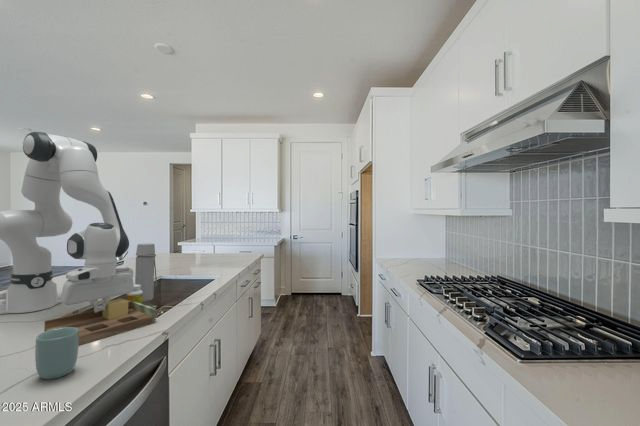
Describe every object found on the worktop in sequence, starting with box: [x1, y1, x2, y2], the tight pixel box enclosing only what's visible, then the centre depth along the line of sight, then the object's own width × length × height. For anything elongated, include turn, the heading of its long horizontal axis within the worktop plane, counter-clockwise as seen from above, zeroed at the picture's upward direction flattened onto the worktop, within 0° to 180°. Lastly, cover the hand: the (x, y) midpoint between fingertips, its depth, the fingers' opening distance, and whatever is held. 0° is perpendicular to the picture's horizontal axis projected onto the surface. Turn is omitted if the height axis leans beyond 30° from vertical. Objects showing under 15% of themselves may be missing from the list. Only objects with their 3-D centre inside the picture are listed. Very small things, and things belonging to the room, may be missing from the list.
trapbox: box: [43, 300, 157, 347], centre depth 100 cm, size 16×26×6 cm, turn 148°
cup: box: [34, 327, 80, 380], centre depth 72 cm, size 8×8×10 cm
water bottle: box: [134, 242, 158, 303], centre depth 134 cm, size 9×8×25 cm
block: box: [102, 298, 128, 319], centre depth 105 cm, size 5×6×5 cm
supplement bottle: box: [126, 284, 143, 304], centre depth 120 cm, size 5×5×10 cm
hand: (99, 311), depth 102 cm, fingers closed
